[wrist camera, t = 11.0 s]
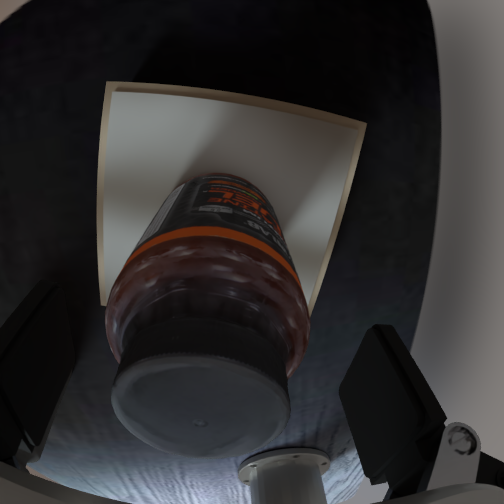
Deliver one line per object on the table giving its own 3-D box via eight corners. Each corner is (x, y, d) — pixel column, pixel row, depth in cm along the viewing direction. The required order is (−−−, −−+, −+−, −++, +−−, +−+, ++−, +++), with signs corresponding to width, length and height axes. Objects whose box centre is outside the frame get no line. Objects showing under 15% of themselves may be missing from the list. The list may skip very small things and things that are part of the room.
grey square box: (294, 296, 24) (305, 334, 20) (118, 272, 22) (99, 307, 18) (341, 117, 18) (369, 123, 14) (130, 84, 16) (104, 81, 13)
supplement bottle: (298, 203, 16) (396, 375, 6) (241, 293, 18) (255, 488, 8) (189, 147, 14) (99, 258, 4) (142, 249, 17) (60, 433, 6)
